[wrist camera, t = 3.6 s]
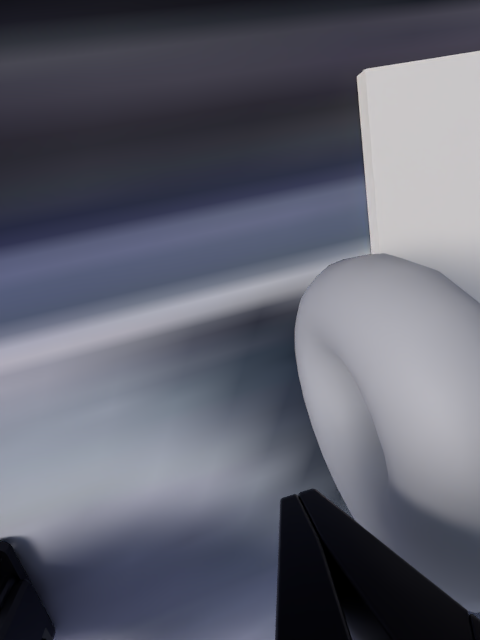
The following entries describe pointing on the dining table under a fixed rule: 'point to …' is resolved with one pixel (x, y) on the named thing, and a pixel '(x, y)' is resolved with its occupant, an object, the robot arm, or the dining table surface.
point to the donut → (399, 408)
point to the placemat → (425, 163)
